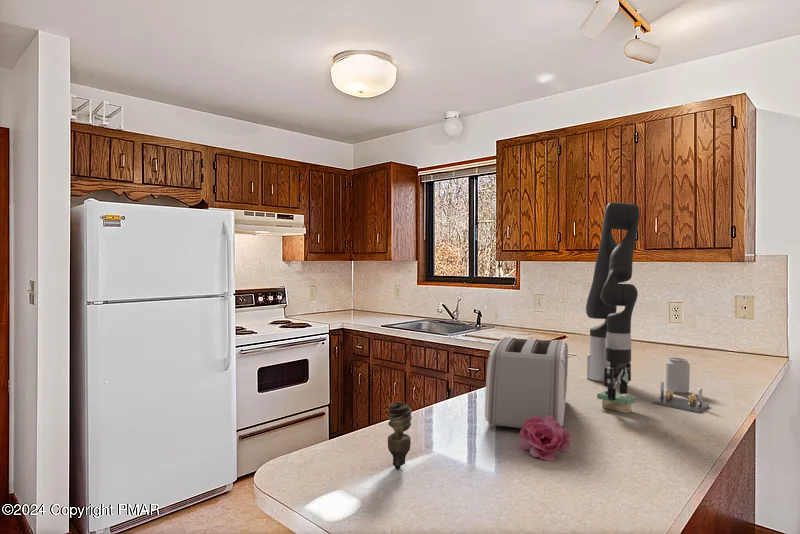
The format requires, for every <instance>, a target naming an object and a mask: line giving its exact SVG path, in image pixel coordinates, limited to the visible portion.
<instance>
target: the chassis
mask: <svg viewBox="0 0 800 534" xmlns="http://www.w3.org/2000/svg"><path fill="white" fill-rule="evenodd" d="M697 398H698V401H697ZM652 405H659V406H664V407H669V408H673V409H674V408H675V409H679V410H683V411H689V412H693V413H698V414H699V413H701V412H703V411H705V410H706V409H708V408H709V407H710V403H708V402H703V388H700V387H698V397H697V394H696V393H692V394H690V395H688V399H686V398H681V397H675V396H674V393H673V390H669V391H668V390H666V391H665V382H664V381H660V396H659V397H657V398H654V399H653V400H652Z"/></svg>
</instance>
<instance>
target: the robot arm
mask: <svg viewBox="0 0 800 534" xmlns="http://www.w3.org/2000/svg"><path fill="white" fill-rule="evenodd" d="M640 212H641V211H640V207H639V205H638V204H635V203H627V202H618V201H617V202H616V201H615V202H612V201H611V202H609V203H607V205H606V207H605V210H604V215H603V222H602V228H601V229H602V230H601V236H600V238H601V239H600V242H599V243H600V244H599V247H598V251H597V254H596V261H595V264H594V271H593V279H592V282H591V287H590V290H589V293H588V296H587V300H586V304H585V306H586V307H585V313H586V316H587V317H588V318H590V319H595V320H600V319H601V320H604V322H602V323H601V324H599V325H597V326H593V327H591V328H589V329H590V330H589V353H588V354H587V356H586V357H587V358H586V361H587V362H586V379H590V380H592V381H594V382H595V381H596V382H601V383H603V386H604V387H606V388H607V391H608V399H609V400H613V401H614V400H615V399H616V393H617V388H616V387H617V385H618V383H619V392H618V393H620V394H628V384H629V382H631V380H632V363H631V362H632V335H631V333H632V332H631V331H632V327H631V326H632V315H633V311H634V308H635V305H636V302H637V299H638V296H639V295H638V289H637V287H636V286H635V285H634V284H632V283H626V282H628V281H630V280H631V278H632V276H633V263H634V262H633V257H634V250H635V246H636V241H637V236H638V230H639V224H640V216H641V215H640ZM612 230H621V231H627V232H626V234H625V236H624V237H623V239H622V240H621V241H620V242H619V243H618V244H617V242H616V239H615V237H614V234H613V231H612ZM618 307H624V309H623V310H622V311H618V312H617V309H618Z"/></svg>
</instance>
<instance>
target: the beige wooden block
mask: <svg viewBox="0 0 800 534" xmlns="http://www.w3.org/2000/svg"><path fill="white" fill-rule="evenodd" d="M601 400H602V399H601ZM601 403H602V404H601V408H602V409H603V408H604V409H607V410H612V411H616V412H620V413H625V414H628V413H631V411H632V404H630V405H626V404H621V403H616V402H612V401H607V400H602V402H601Z"/></svg>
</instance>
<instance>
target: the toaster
mask: <svg viewBox="0 0 800 534" xmlns="http://www.w3.org/2000/svg"><path fill="white" fill-rule="evenodd" d="M568 355H569V349H568V344H567V342H565V341H563V340H559V339H552V340H543V339H538V338H528V339H525V338H524V339H523V338H515V337H512V336H508V337H507V336H504V337H503V338H500V339H498V340H497V342H494V345H492V348H491V349H490V350H489V355H488V358H487V361H486V363H487V364H486V378H485V379H486V382H485V393H484V394H485V397H484V418H485V421H487V422H488V423H487V424H488V425H489V427H488V430H489V431H490V432H491V431H492V432H496V431H497V430H498V428H497V426H499V427H500V426H501V427H509V428H517V429H522V428H523V424H524V422H525V421H526V419H528V418H532V417H534V416H540V417H541V418H544V417H545V416H547V415H550V416H552V417H553V418H554V419H555V420H557V421H558V422H559V424H560V425H561V427H562V428H563V425H564V422H565V420H564V419H565V411H566V409H565V408H566V403H567V402H566V400H567V391H568V390H567V389H568V387H567V386H568V383H567V382H568V363H569V362H568V360H569V359H568V357H569V356H568Z"/></svg>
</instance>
